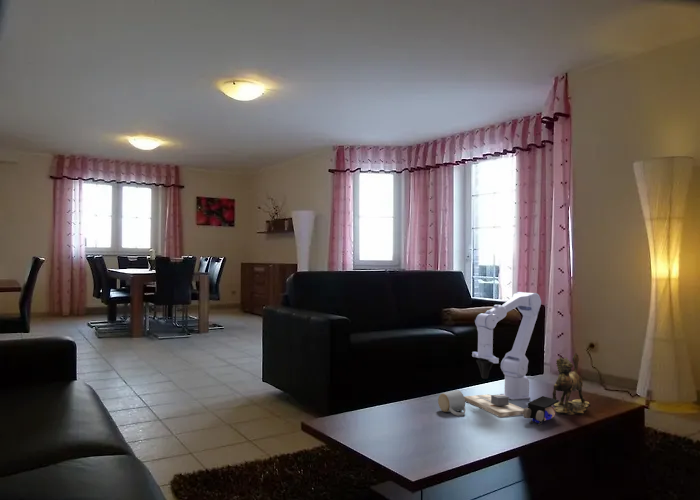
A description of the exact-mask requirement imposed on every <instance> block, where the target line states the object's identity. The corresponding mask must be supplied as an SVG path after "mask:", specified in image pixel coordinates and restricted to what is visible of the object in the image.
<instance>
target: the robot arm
mask: <svg viewBox="0 0 700 500" xmlns="http://www.w3.org/2000/svg"><path fill="white" fill-rule="evenodd" d="M541 305H542V299H541V296H540V295H539V294H538V293H537V292H525V291H524V292H523V291H517V292H515V293H513V294H512V297H511V298H509V299H508V300H507V301H506V302H504V303H503V304H502V305H501V304H494V305H493V307H492V308H490V309H488V310H486V311H485V312H484V313H479V314H477V316H476V317H475V319H474V323H475V326H476V330H477V351H472V352H471V353H472V354H471V356H472V357H473V358H477V359H476V360H475V362H476V364H477V367H478V369H479V373H480V376H481V378H482V379H483V380H484V379H489V376H490V371H491V369H492V368H493V365H494V364H500V369H501V372H502V373H503V375H504V393H502V394H503V395H506V396H508V397H509V400H512V401H513V400H514V401H515V400H524V399H531V396H530V380H529V378H528V376H527V375H526V374H527V373H528V370H529V368H528V366H529V362H530V361H529V359H528V357H527V356H526V351H527V349H528V346H529V343H530V341H531V338H532V334H533V332H534V328H535V324H536V321H537V319H538V315H539V312H540V308H541ZM515 308H517V309H518V311H519V312H520V313H521V315H522V319H521V322H520V325H519V327H518V331H517V334H516V337H515V340H514V342H513V345H512V348H511V350H510V351H508V352H506V353H505V355H504V357H503V358H502V360H501V362H500V361H499V360H500V358H499V357H496V356H495V355H494V353H493V351H494V350H493V349H494V347H493V344H494V340H493V339H494V329H495V327H496V326H497V323H498V322H500V321H501V320H503V319H505V318H506V316H507V315H508V314H507V313H509V312H511V311H513V310H514V309H515ZM499 362H500V363H499Z"/></svg>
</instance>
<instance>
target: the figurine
mask: <svg viewBox="0 0 700 500" xmlns="http://www.w3.org/2000/svg"><path fill="white" fill-rule="evenodd" d="M579 356H580V355H578V353H577V352H575V353H574V355H573V356H572V361H573V363H572V362H571V360H569V359H568V357H565V358H562V357H561V356H560V357H559V358H557V359H556V367H557V371H558V376H557V379H556V381H555V384H554V385H553V390H552V399H556V400H558V398H557V392H562V394H561V396H560V400H559V402H558V403H556V404H554V405H552V407H553V408H554V409H555V414H558V415H564V416H571V415H580V416H581V415H585V412H586V411H587V408H588V407H589V406H590V405H591V403H590V402H589V401H586V398H585V397H584V396H583V379H582V376H580V375H579V374H578V368H579V361H580V358H579ZM573 367H574V368H573ZM572 368H573V370H572ZM576 391H578V396H579V399H573V400H571V401H569V400H570V397H571V394H572V392H576Z"/></svg>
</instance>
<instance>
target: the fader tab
mask: <svg viewBox="0 0 700 500" xmlns="http://www.w3.org/2000/svg"><path fill="white" fill-rule="evenodd" d="M503 394H504V393H499V394H490V395H491V403H492V404H494V405H496V406H503V405H509V403H510V402H509V401H510V399H509V397H508V396H506V395H503Z"/></svg>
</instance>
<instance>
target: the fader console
mask: <svg viewBox="0 0 700 500" xmlns="http://www.w3.org/2000/svg"><path fill="white" fill-rule="evenodd" d="M491 395H492V394H479V395H466V396H464V395H463V396H464V398H465V402H467V403H468V404H471V405H473V406H476V407H478V408H480V409H482V410H484V411H486V412H488V413H490V414H493V415H495V416H496V417H500V418H503V417H513V416H523V411H524V409H525V408H523V407H520V406H519V405H517V404H513V403H511V402H509V405H503V406H496V405H494V404H492V403H491Z"/></svg>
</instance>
